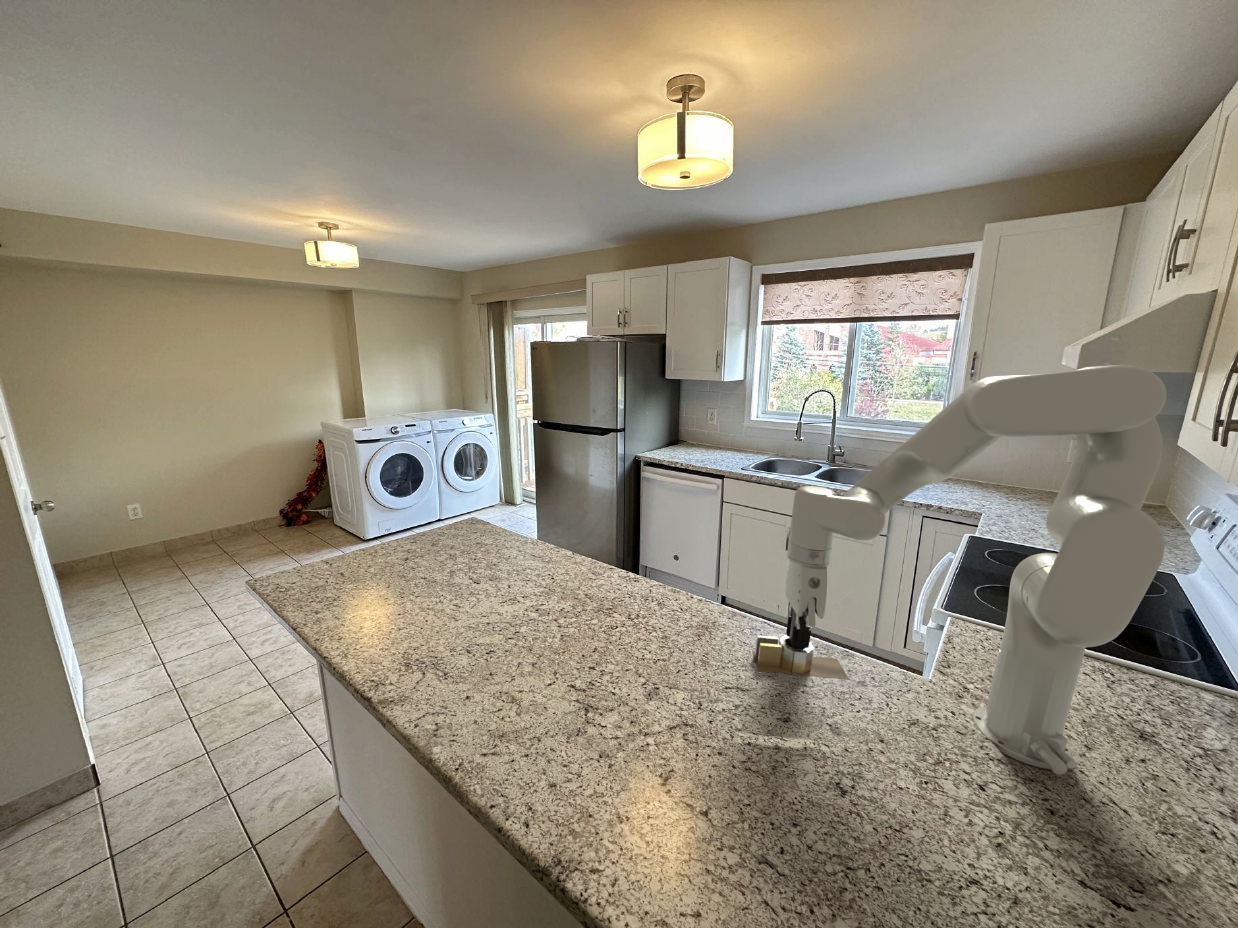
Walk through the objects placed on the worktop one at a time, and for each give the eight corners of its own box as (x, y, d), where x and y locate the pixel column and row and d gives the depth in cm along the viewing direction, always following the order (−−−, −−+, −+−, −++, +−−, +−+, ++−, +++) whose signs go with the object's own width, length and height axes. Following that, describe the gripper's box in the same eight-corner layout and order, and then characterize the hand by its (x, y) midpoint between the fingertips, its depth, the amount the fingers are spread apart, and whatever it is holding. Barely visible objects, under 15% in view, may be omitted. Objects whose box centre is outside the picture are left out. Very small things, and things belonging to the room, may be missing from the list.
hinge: (813, 674, 91) (817, 653, 90) (759, 669, 92) (762, 648, 91) (804, 656, 97) (807, 636, 96) (753, 651, 98) (755, 631, 97)
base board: (848, 682, 91) (849, 679, 90) (757, 674, 92) (758, 670, 92) (836, 662, 97) (836, 658, 97) (751, 654, 98) (751, 651, 98)
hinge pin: (804, 657, 92) (810, 614, 91) (789, 656, 93) (795, 613, 91) (800, 649, 95) (806, 607, 93) (786, 647, 95) (791, 606, 94)
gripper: (846, 571, 82) (831, 668, 85) (815, 538, 97) (804, 621, 101) (801, 568, 82) (788, 664, 86) (777, 536, 98) (768, 618, 102)
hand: (797, 640), depth 93 cm, fingers closed on hinge pin, 2 cm apart
